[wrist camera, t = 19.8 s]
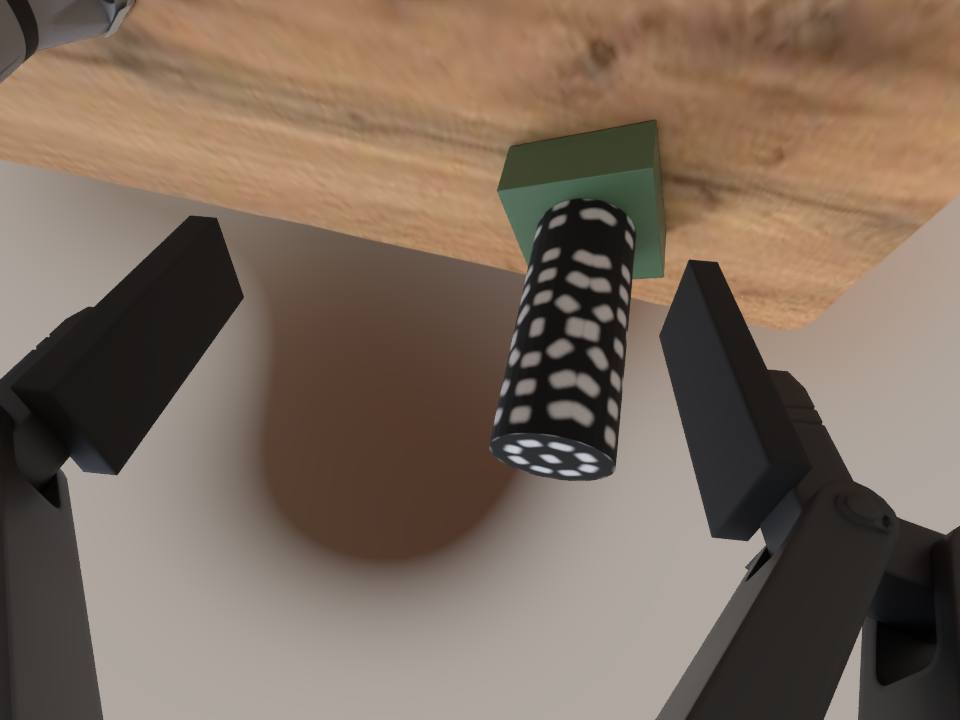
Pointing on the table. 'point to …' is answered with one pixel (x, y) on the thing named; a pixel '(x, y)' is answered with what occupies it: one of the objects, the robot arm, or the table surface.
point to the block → (591, 185)
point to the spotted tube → (569, 346)
